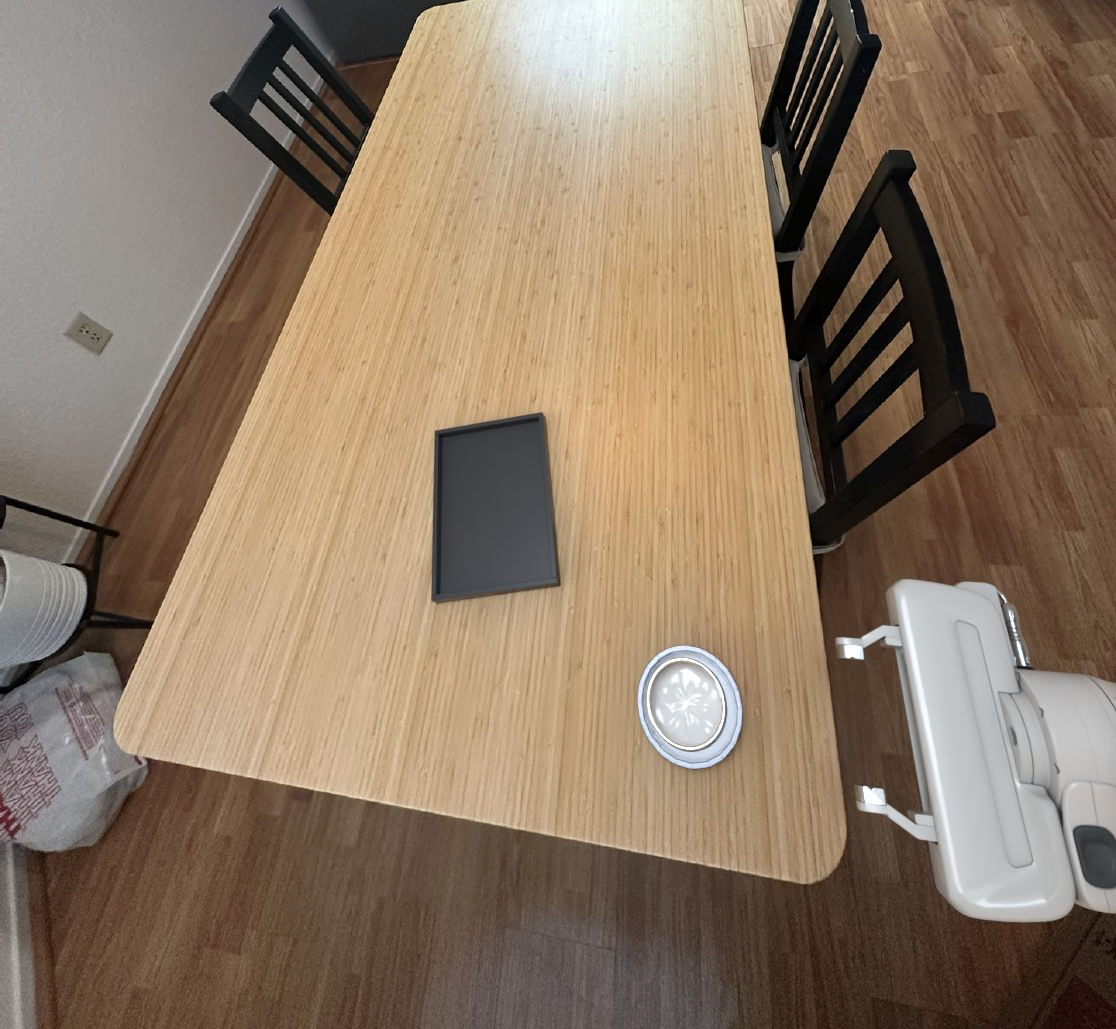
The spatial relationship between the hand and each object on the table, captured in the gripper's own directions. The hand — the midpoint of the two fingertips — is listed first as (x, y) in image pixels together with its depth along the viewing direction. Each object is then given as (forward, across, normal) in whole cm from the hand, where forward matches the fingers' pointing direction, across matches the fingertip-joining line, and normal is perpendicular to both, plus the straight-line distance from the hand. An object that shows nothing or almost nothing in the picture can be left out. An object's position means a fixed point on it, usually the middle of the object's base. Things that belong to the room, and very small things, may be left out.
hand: (846, 718), depth 48 cm
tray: (+36, -19, +17) cm, 45 cm away
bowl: (+12, 0, +17) cm, 21 cm away
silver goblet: (+12, 0, +17) cm, 21 cm away
